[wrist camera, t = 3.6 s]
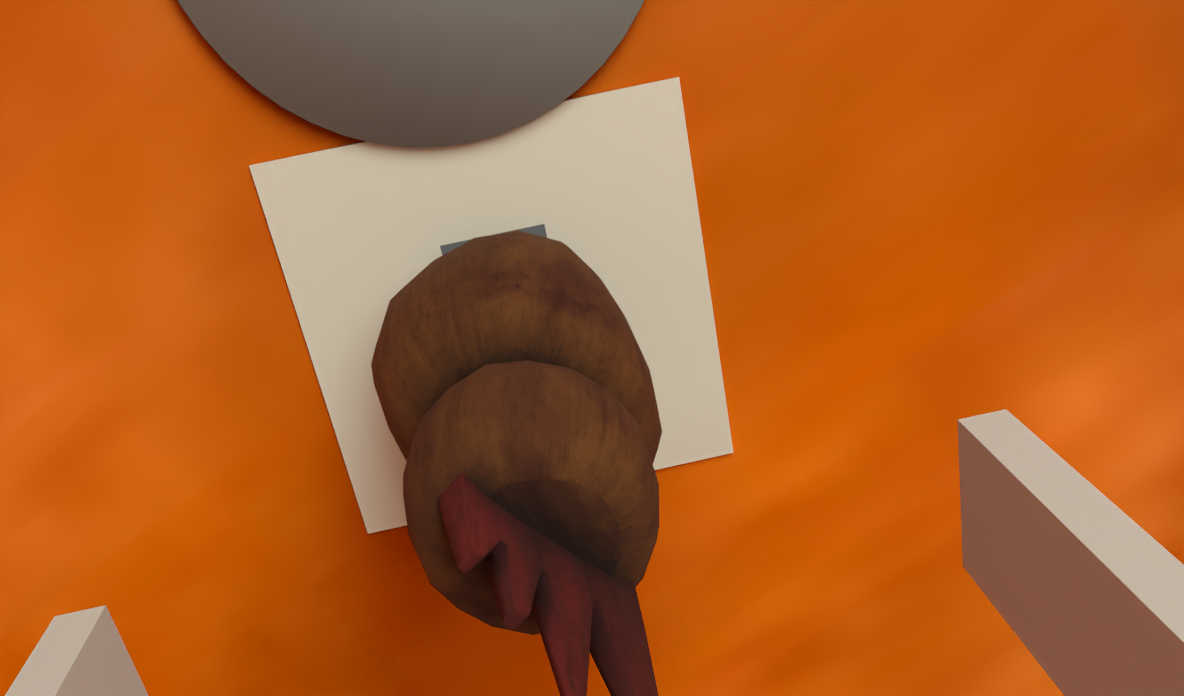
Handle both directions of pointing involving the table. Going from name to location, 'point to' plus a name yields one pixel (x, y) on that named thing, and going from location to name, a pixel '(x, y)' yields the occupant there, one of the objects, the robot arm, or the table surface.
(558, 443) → the wooden figurine
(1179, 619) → the robot arm
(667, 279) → the white card
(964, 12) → the table surface
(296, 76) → the coaster
